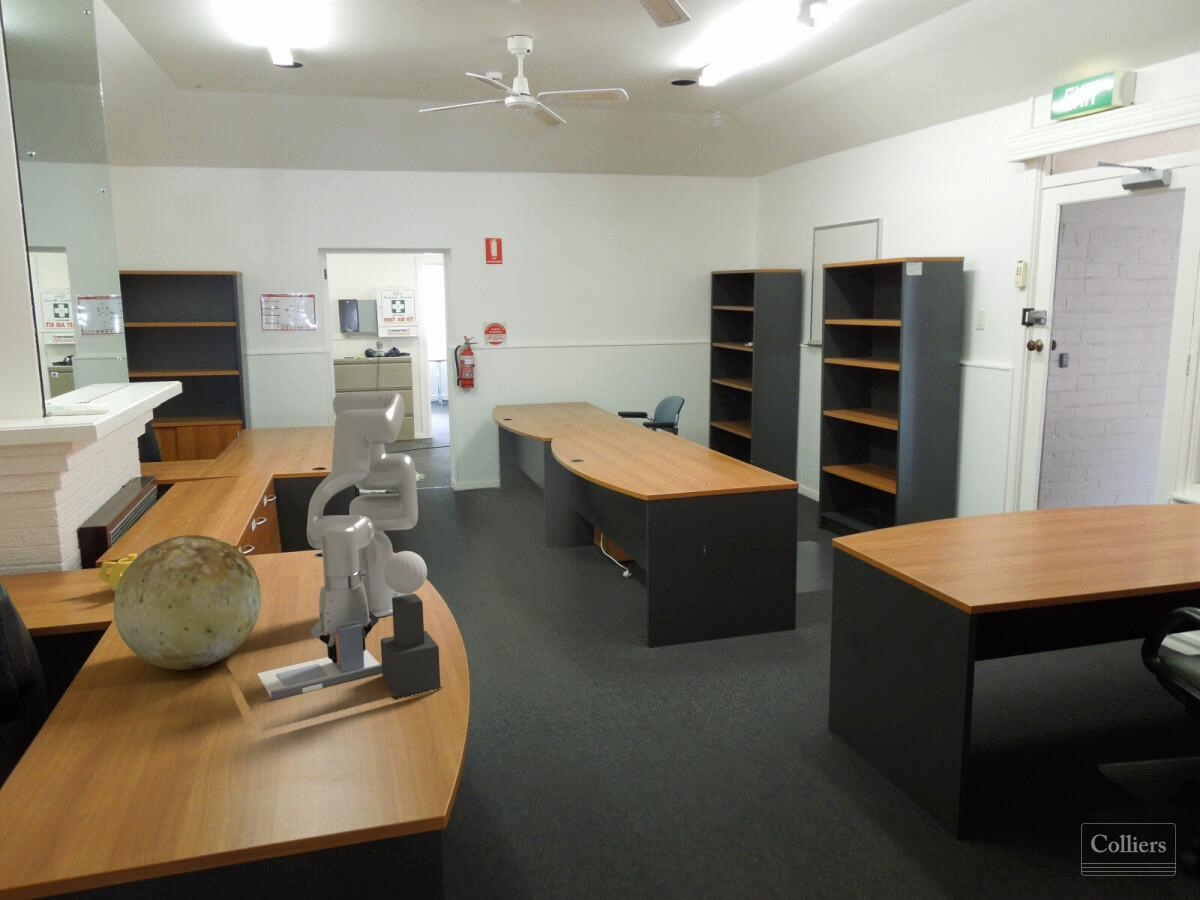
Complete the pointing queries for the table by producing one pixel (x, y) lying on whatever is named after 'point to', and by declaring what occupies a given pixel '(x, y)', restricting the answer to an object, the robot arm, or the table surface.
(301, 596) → the table surface
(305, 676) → the shelf board
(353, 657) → the box
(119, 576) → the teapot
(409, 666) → the sculpture
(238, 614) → the speckled stone ball
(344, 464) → the robot arm
